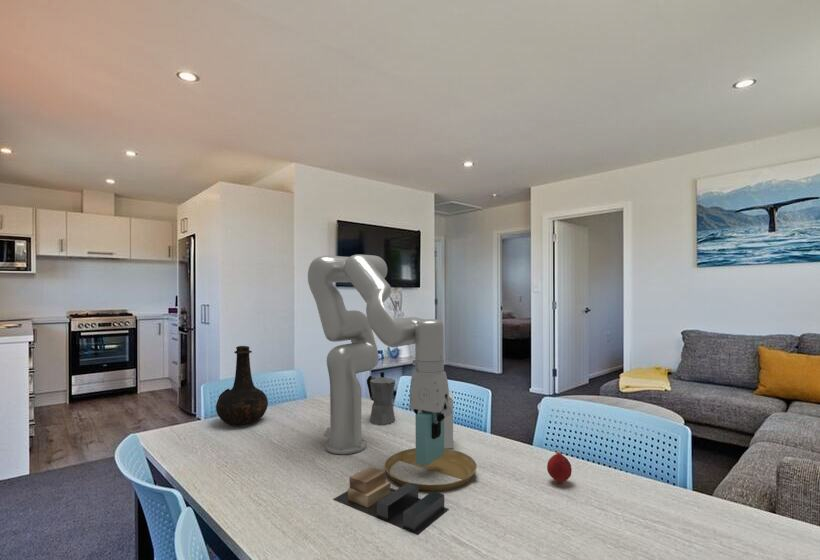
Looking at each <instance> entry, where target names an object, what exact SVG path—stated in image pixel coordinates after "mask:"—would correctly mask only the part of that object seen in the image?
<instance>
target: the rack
mask: <svg viewBox="0 0 820 560" xmlns="http://www.w3.org/2000/svg"><path fill="white" fill-rule="evenodd" d="M411 483H412V482H411ZM411 483H406V484H405V485H403V486H402V485H401V486H400V487H399V488H397V489H394V488H391V487H390V494H388V495H387V496H385V497H384V498H382V499H380V500H379V501H377V502H376V503H374V504H372V505H371V506H369V507H365V506H363V505H360V504H358V503H355V502H353V501H350V500H348V490H347V491H345V492H343V493H341V494H340V495H338V496H335V497H333V498H332V500H333V501H335V502H338V503H339V504H342V505H345V506H347V507H349V508H352V509H355V510H357V511H359V512H362V513H364V514H365V515H369V516H371V517H373V518H376V519H378V520H381V521H383V522H385V523H388V524H390V525H393V526H395V527H398V528H400V529H401V530H404V531H407V532H409V533H411V534H413V535H416V536H419V535H420V534H421V533H422V532H423V531H425V530H426V529H427V528H429V527H430V526H431V525H432V524H433V523H435V522H436V521H437V520H438V519H439V518H441V517H442V516H443V515H445V513H447V512H448V511H449V510H450V508H448V507H445V494H443V493H440V492H438V491H430V492H429V493H428V494H426V495H425V496H424V497H422V498H420V497H419V490H418V486H417V485H414V484H411Z"/></svg>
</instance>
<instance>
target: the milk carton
mask: <svg viewBox="0 0 820 560" xmlns="http://www.w3.org/2000/svg"><path fill="white" fill-rule="evenodd" d="M449 406H450V408H451V410H452V415H450V416H447V417H445V418H444V448H447V449H454V394H453V393H452V391H450V390H449ZM444 412H445V411H444Z"/></svg>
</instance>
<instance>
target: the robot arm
mask: <svg viewBox="0 0 820 560" xmlns="http://www.w3.org/2000/svg"><path fill="white" fill-rule="evenodd" d="M387 275H388V265H387V263H386V261H385V260H384V259H383V258H382V257H381V256H377V255H371V254H353V255H351V256H340V255H322V256H317V257H315V258H313V260H312V261H311V262H310V264H309V267H308V270H307V283H308V287H309V289H310V290H309V291H310V292H311V295H312V296H313V299H314V301H315V304H316V307H317V311H318V316H319V319H320V323H321V327H322V330H323V333H324V337H325V338H326V340H328V341H329V342H334V343H335V342H345V341H351V342H350V343H345V344H340V345H337V346H334V347H333V348H331V349H330V350H329V352H328V353H327V355H326V368H327V372H328V377H329V393H330V394H329V399H330V408H329V409H330V413H329V414H330V416H329V417H330V421H329V423H330V424H329V425H330V427H327V428H326V430H325V431H324V432H323V436H325V437H328V438H327V440H328V441H327V442H325V444H324V445H325V447H324V448H325V450H326V451H327V452H329V453H331V454H334V455H351V454H356V453H359V452H361V451H363V450H365V449H366V448H367V444H368V443H367V440H366V439H365V438H363V437H362V387H361V384H360V381H359V379H358V378H357V375H356V374H360V373H364V372H368V371H371V370H373V369H374V368H376V366H377V365H378V364H379V351H378V347H377V343H376V340H375V336H374V334H375V335H376V337H377V338H378V340H379V341H380V342H381V343H382V344H384V345H385V346H387V347H388V348H389V347H390V348H398V347H403V346H411V345H414V348H415V349H414V351H415V354H414V355H415V356H414V358H415V359H414V360H412V362H411V363H412V365H413V366H415V367H414V368H415V369H414V370H412V374H411V379H410V383H409V384H410V386H409V403H408V407H409V409H411V410H412V411H413V412H414V414H415V415H416V414H418V413H421V412H423V411H427V412H432V413H433V422H434V423H432V439H436V438H438V437H439V436H440V434H441V421H443V419H444V418H445V417H447V416H450V415H452V410H451V408H450V406H449V391H450V390H449V381H448V376H447V373H446V372H447V371H445V363H444V362H445V352H444V351H445V349H444V347H445V345H444V343H445V342H444V340H445V338H444V332H445V331H444V330H445V329H444V323H443V321H442V320H440V319H435V318H433V319H432V318H427V319H425V318H421V317H415V316H414V317H413V316H410V317H397V318H394V317H393V315H391V313H390V312H389V311H388V310H387V308H386V306H385V304H384V303H385V302H386V301H387V300H388V298H389V297H390V296H391V293H392V287H391V284H389V282H387V280H386V279H385V278H386V277H387ZM333 283H351V284H352V286H353V287H354V288H355V289H356V291H357V292H358V293H359V295H360V297H362V299H363V300H364V302H365V303H366V305H365V311H366V313H363V312H362V311H360V310H348V309H347V308H346V306H345V303H344V302H345V301H344V298H343V295H342V294H341V293H340V291H339V290H338V289H337V288H336V286H335V285H334V284H333ZM373 332H374V334H373ZM443 410H444V411H445V412H444V413H442V411H443Z"/></svg>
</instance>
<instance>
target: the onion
mask: <svg viewBox="0 0 820 560" xmlns="http://www.w3.org/2000/svg"><path fill="white" fill-rule="evenodd" d="M546 465H547V466H546V469H547V472H548V474H549V476H550V477H551V478H552V479H553V480H554V481H555V482H556V483H557V484H562V483H564V482H567V480H569V479H570V478H571V476H572V473H573V472H572V465H571V462H570V461H569V460H568V458H567V457H566V456H564V455H563V454H562V453H561V452H560V451H559V450H556V451H555V454H553V455H552V456H551V457H550V458H549V459H548V461H547V464H546Z"/></svg>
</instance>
